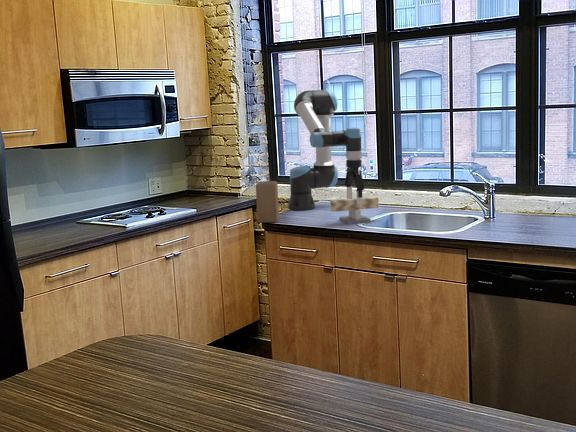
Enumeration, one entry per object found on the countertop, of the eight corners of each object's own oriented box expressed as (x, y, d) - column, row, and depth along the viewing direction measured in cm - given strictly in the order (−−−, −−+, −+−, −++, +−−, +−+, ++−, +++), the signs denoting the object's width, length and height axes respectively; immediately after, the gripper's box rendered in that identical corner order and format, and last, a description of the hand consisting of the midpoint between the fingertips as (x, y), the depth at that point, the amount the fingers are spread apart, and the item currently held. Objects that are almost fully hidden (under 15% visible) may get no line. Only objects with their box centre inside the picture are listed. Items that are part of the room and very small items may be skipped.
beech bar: (333, 211, 330) (333, 201, 329) (330, 210, 334) (330, 200, 333) (378, 207, 336) (378, 197, 335) (375, 206, 340) (375, 196, 339)
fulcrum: (339, 219, 340) (339, 208, 339) (361, 217, 344) (361, 206, 342) (347, 224, 329) (347, 212, 328) (370, 222, 332) (370, 210, 331)
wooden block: (279, 218, 348) (277, 180, 344) (276, 222, 338) (275, 183, 335) (259, 219, 349) (258, 181, 345) (257, 223, 339) (255, 184, 336)
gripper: (337, 157, 341) (338, 198, 345) (356, 162, 318) (356, 206, 322) (351, 156, 343) (352, 197, 347) (370, 161, 320) (371, 205, 324)
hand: (354, 201), depth 334 cm, fingers open, 13 cm apart
